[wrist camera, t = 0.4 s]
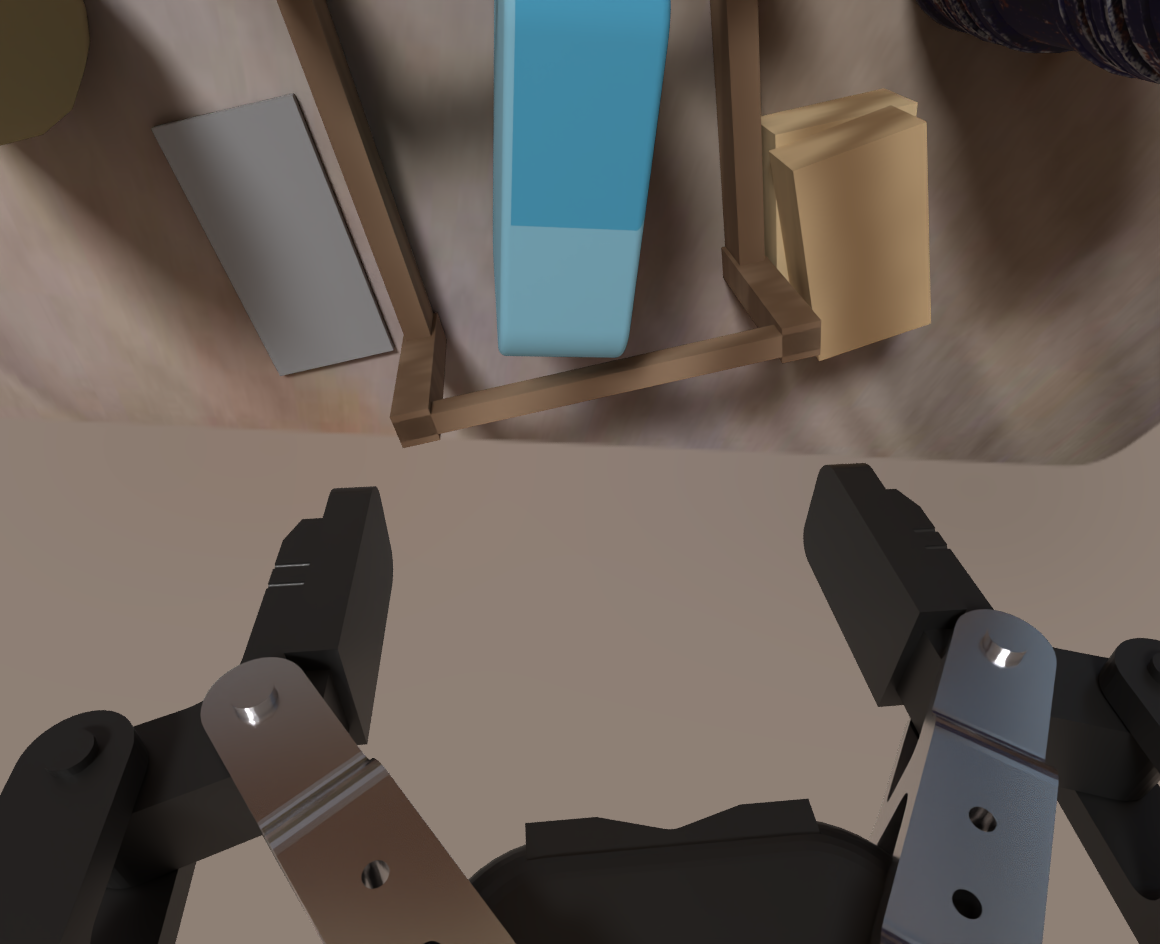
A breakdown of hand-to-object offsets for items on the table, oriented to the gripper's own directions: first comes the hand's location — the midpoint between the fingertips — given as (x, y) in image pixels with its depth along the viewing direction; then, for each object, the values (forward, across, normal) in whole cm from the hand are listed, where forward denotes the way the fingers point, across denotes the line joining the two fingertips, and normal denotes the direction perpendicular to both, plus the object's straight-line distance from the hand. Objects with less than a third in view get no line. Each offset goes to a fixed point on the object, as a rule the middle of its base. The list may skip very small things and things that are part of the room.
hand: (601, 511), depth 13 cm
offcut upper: (+22, -14, +2) cm, 26 cm away
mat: (+24, +12, +4) cm, 27 cm away
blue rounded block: (+25, 0, -2) cm, 25 cm away
